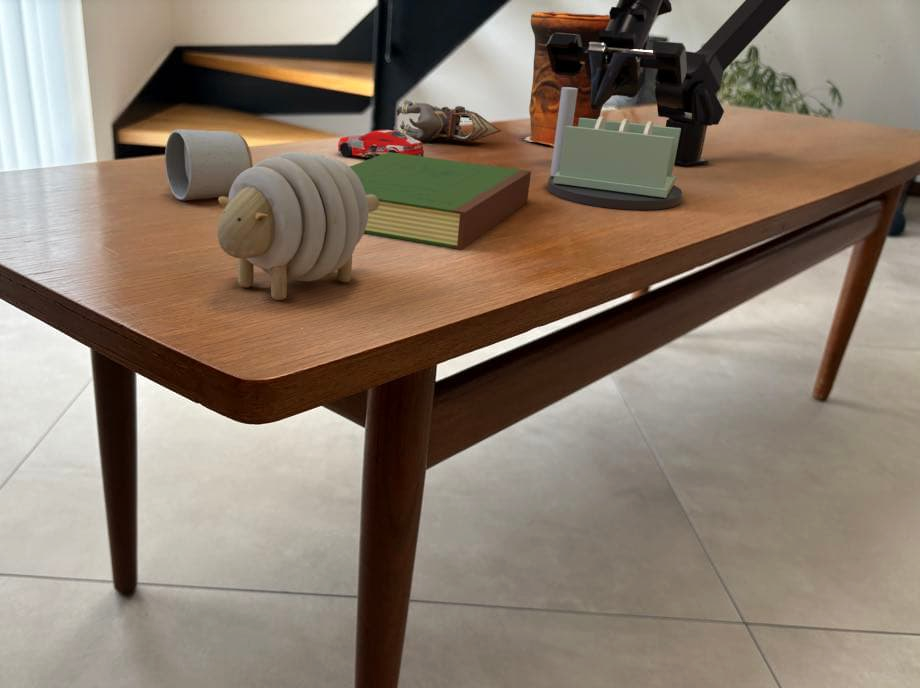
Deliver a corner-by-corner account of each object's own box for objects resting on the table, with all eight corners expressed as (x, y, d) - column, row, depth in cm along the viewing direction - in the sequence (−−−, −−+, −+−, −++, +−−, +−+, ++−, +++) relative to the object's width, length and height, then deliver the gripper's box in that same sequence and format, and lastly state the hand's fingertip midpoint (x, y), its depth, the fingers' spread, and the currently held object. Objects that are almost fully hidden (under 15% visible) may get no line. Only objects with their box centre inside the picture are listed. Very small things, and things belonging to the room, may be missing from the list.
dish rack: (541, 181, 113) (553, 90, 108) (558, 168, 121) (570, 83, 116) (665, 198, 108) (684, 103, 103) (674, 183, 116) (692, 95, 111)
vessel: (500, 139, 148) (514, 10, 140) (544, 132, 158) (560, 10, 149) (575, 153, 140) (595, 16, 131) (617, 144, 150) (638, 16, 141)
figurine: (410, 96, 153) (507, 104, 150) (407, 132, 155) (502, 141, 153) (388, 102, 135) (498, 112, 132) (385, 143, 137) (493, 153, 134)
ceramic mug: (257, 200, 102) (256, 131, 98) (191, 207, 97) (187, 135, 94) (217, 183, 109) (215, 118, 106) (154, 188, 105) (150, 121, 102)
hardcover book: (461, 249, 88) (465, 212, 86) (296, 221, 94) (296, 186, 93) (528, 200, 109) (532, 170, 107) (389, 180, 115) (391, 151, 113)
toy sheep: (184, 289, 73) (177, 152, 68) (323, 251, 85) (326, 132, 80) (274, 323, 67) (273, 176, 62) (409, 277, 79) (418, 150, 74)
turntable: (605, 175, 125) (606, 167, 125) (708, 201, 113) (710, 192, 113) (520, 186, 116) (521, 177, 115) (622, 216, 104) (623, 206, 103)
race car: (330, 155, 129) (330, 127, 127) (349, 150, 133) (350, 123, 131) (409, 167, 123) (411, 138, 121) (427, 162, 128) (429, 133, 126)
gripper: (702, 65, 126) (666, 155, 122) (578, 53, 134) (540, 137, 130) (700, 5, 116) (660, 100, 112) (566, -4, 125) (525, 85, 121)
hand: (593, 108), depth 119 cm, fingers closed
